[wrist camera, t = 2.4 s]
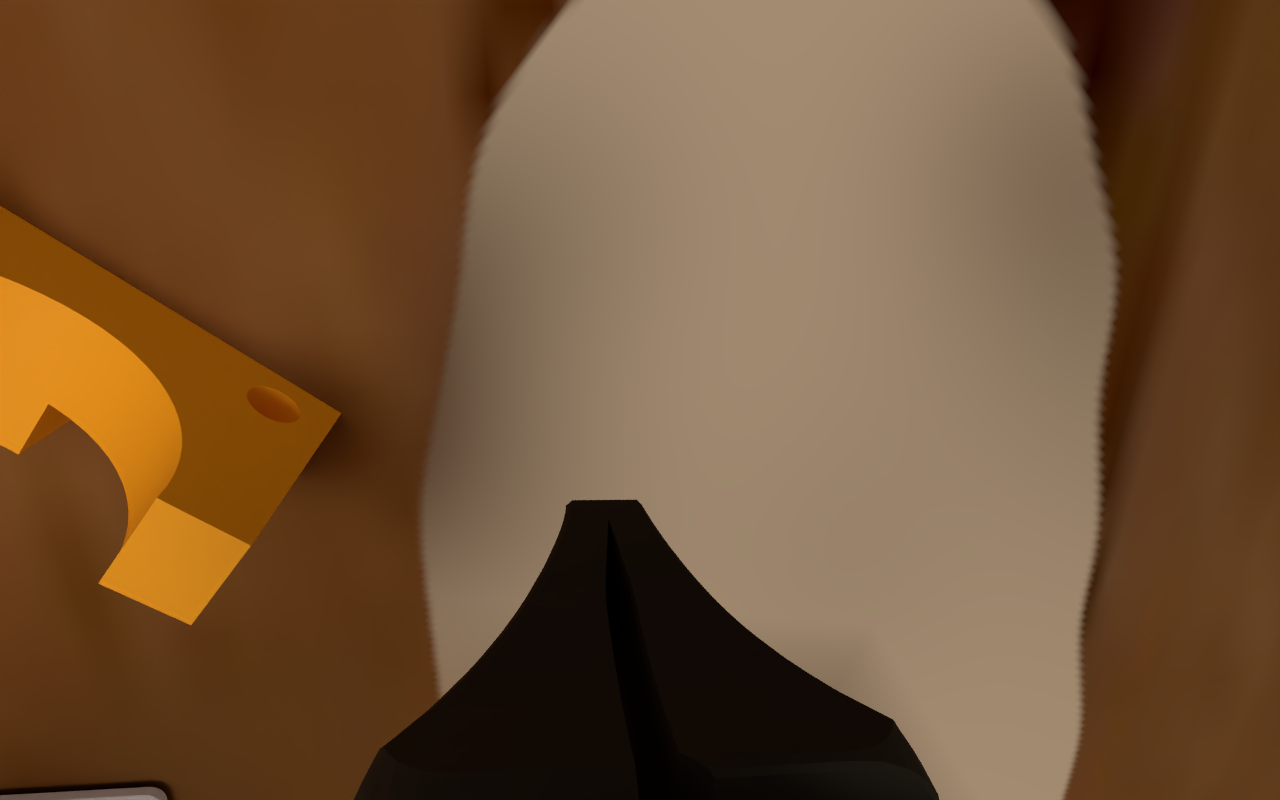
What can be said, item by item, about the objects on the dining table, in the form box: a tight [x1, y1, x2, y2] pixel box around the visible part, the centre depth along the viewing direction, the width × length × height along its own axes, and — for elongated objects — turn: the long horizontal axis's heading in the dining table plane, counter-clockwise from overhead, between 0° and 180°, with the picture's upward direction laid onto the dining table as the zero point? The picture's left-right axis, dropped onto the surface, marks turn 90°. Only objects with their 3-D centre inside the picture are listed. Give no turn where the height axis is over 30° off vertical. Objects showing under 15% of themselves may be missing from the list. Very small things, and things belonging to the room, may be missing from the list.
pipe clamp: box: [0, 206, 341, 625], centre depth 15 cm, size 12×4×6 cm, turn 49°
